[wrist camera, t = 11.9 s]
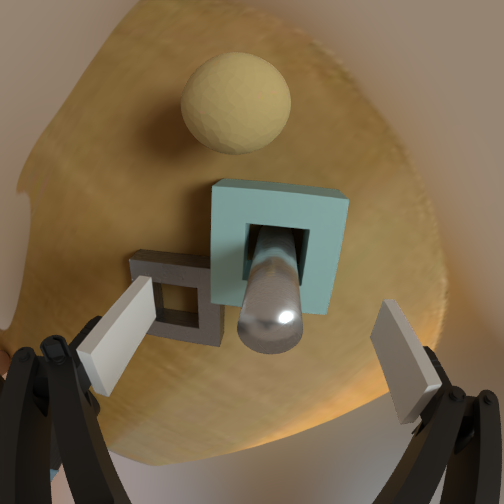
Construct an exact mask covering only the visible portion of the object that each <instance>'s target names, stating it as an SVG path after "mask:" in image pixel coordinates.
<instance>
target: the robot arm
mask: <svg viewBox="0 0 504 504" xmlns="http://www.w3.org/2000/svg"><path fill="white" fill-rule="evenodd" d="M155 318H156V311H155V304H154V296H153V288H152V279H151V277H147V276H140V275H139V277H138V278H137V279H136V280H135V281H134V282H133V283H132V284H131V285H130V286H129V288H128V289H127V290H126V291H125V292H124V293H123V294H122V295H121V297H120V298H119V299H118V300H117V301H116V302H115V303H114V305H113V306H112V307H111V308H110V309H109V310H108V312H107V313H106V314H105V315H104V316H103V317H101V316H96V317H95V318H93V319H91V320H90V321H89V322H88V323H87V324H86V325H85V327H84V328H83V329H82V330H81V331H80V333H78V335H77V336H76V337H75V338H74V339H73V341H72V342H71V343H70V344H69V345H67V343H66V340H65V338H64V337H62V336H59V335H52V336H49V337H47V338H46V339H44V340H43V341H42V343H41V345H40V349H41V351H42V353H43V355H44V357H43V356H36V354H35V352H34V350H33V349H32V348H31V347H22V348H20V349H18V350H17V351H16V352H15V354H14V355H13V358H12V361H11V364H10V367H9V370H8V373H7V376H6V380H4V378H3V377H2V376H1V374H0V504H52V498H51V481H52V480H53V478H54V476H55V475H56V474H57V472H58V471H59V468H60V466H61V464H63V468H64V471H65V474H66V478H67V481H68V484H69V487H70V490H71V493H72V496H73V499H74V502H75V504H132V503H131V501H130V500H129V498H128V496H127V494H126V491H125V490H124V487H123V485H122V483H121V481H120V479H119V477H118V474H117V472H116V470H115V467H114V465H113V462H112V460H111V458H110V455H109V452H108V450H107V447H106V444H105V442H104V439H103V436H102V433H101V430H100V427H99V424H98V421H97V416H98V414H99V412H100V406H99V404H98V402H97V400H96V399H95V397H94V396H93V395H92V394H91V392H90V391H89V390H88V389H89V387H90V386H91V385H92V387H93V389H94V391H95V392H96V393H99V394H101V395H104V396H107V397H109V395H110V394H111V392H112V390H113V388H114V387H115V385H116V383H117V381H118V380H119V378H120V376H121V374H122V373H123V371H124V369H125V368H126V366H127V364H128V362H129V361H130V359H131V357H132V356H133V354H134V352H135V351H136V349H137V347H138V346H139V344H140V342H141V341H142V339H143V337H144V336H145V334H146V332H147V331H148V329H149V328H150V326H151V324H152V323H153V321H154V319H155ZM370 338H371V340H372V343H373V346H374V348H375V351H376V354H377V356H378V359H379V362H380V364H381V367H382V370H383V373H384V376H385V378H386V381H387V384H388V387H389V390H390V393H391V396H392V399H393V402H394V405H395V409H396V412H397V415H398V418H399V421H400V424H407V423H413V422H414V421H415V420H416V419H417V418H418V416H419V415H420V416H421V419H422V421H421V422H420V424H419V425H418V426H417V427H416V428H415V430H414V431H413V432H412V434H413V433H414V436H413V437H412V439H411V442H410V443H409V445H408V447H407V449H406V451H405V453H404V455H403V456H402V458H401V460H400V462H399V463H398V465H397V467H396V468H395V470H394V472H393V473H392V475H391V477H390V478H389V480H388V481H387V483H386V485H385V486H384V487H383V489H382V490H381V492H380V493H379V495H378V496H377V498H376V499H375V501H374V502H373V503H372V504H429V503H430V501H431V499H432V496H433V495H434V493H435V490H436V489H437V486H438V484H439V482H440V480H441V477H442V475H443V473H444V470H445V468H446V465H447V469H446V475H445V481H444V486H443V491H442V495H441V500H440V504H499V497H500V487H501V471H502V439H501V423H500V412H499V403H498V399H497V396H496V395H495V394H494V393H493V392H492V391H490V390H483V391H481V392H480V394H479V395H478V396H477V397H472V396H466V394H465V392H464V391H463V390H462V389H461V388H459V387H457V386H452V385H451V383H450V381H449V379H448V377H447V375H446V373H445V371H444V369H443V367H441V364H440V362H439V361H438V359H437V357H436V355H435V353H434V352H433V351H432V350H431V349H430V348H429V347H428V346H422V344H421V343H420V341H419V339H418V337H417V336H416V334H415V332H414V330H413V329H412V327H411V325H410V324H409V322H408V320H407V319H406V317H405V315H404V314H403V312H402V310H401V309H400V307H399V305H398V304H397V302H396V301H395V300H391V299H383V302H382V305H381V308H380V311H379V314H378V317H377V320H376V323H375V325H374V328H373V331H372V333H371V336H370Z"/></svg>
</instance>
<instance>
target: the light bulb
mask: <svg viewBox="0 0 504 504" xmlns="http://www.w3.org/2000/svg"><path fill="white" fill-rule="evenodd" d="M290 108H291V98H290V93H289V88H288V86H287V84H286V82H285V80H284V78H283V77H282V75H281V74H280V73H279V71H278V70H277V69H276V68H275V67H273V66H272V65H271V64H270V63H268V62H267V61H265V60H263V59H262V58H259V57H257V56H255V55H251V54H248V53H241V52H229V53H225V54H221V55H218V56H216V57H213V58H211V59H210V60H208V61H206V62H205V63H204V64H202V65H201V66H200V67H199V68H197V70H196V71H195V72H194V73H193V74H192V75H191V77H190V78H189V80H188V82H187V83H186V85H185V87H184V90H183V93H182V96H181V112H182V117H183V119H184V122H185V124H186V126H187V127H188V129H189V131H190V132H191V133H192V135H193V136H194V137H195V138H196V139H197V140H198V141H199V142H200V143H202V144H203V145H205V146H206V147H208V148H210V149H212V150H215V151H217V152H220V153H225V154H245V153H250V152H253V151H256V150H258V149H261V148H262V147H264V146H266V145H267V144H269V143H270V142H271V141H272V140H274V139H275V138H276V137H277V136H278V135H279V133H280V132H281V131H282V129H283V128H284V126H285V124H286V122H287V120H288V117H289V114H290Z"/></svg>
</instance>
